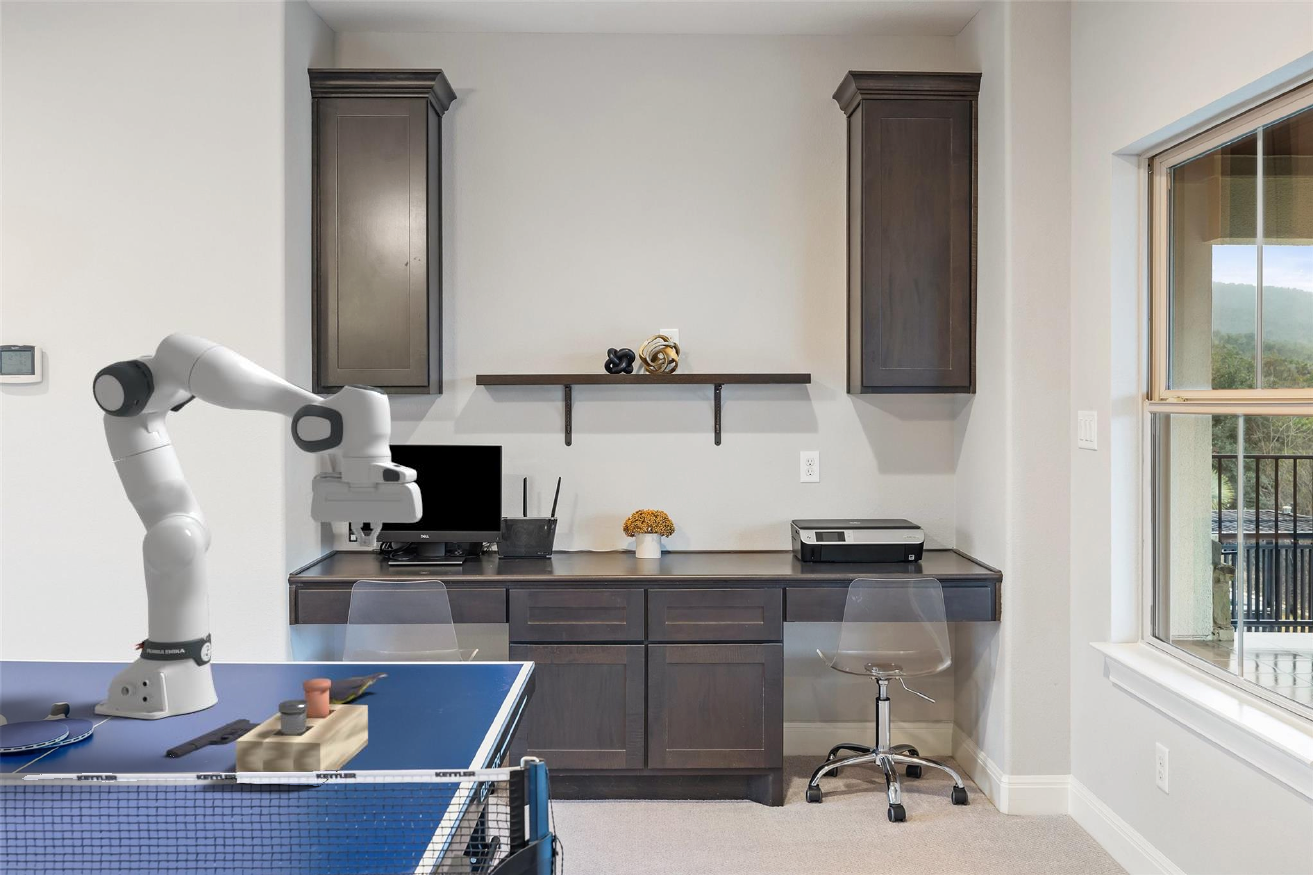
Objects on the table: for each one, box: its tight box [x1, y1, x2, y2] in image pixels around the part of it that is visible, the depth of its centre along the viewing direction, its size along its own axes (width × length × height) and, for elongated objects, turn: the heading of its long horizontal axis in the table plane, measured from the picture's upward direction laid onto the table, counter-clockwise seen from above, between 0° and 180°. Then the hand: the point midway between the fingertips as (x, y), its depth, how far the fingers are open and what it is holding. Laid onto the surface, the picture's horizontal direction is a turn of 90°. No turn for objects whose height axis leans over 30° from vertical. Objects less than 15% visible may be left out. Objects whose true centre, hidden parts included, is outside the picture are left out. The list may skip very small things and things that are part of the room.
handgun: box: [165, 718, 262, 758], centre depth 171 cm, size 18×2×12 cm
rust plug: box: [302, 678, 332, 719], centre depth 166 cm, size 5×5×10 cm
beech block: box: [235, 704, 369, 773], centre depth 161 cm, size 14×20×7 cm
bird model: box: [329, 672, 389, 705], centre depth 196 cm, size 5×20×5 cm, turn 144°
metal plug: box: [278, 699, 308, 736], centre depth 157 cm, size 5×5×10 cm
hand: (366, 546), depth 175 cm, fingers closed
